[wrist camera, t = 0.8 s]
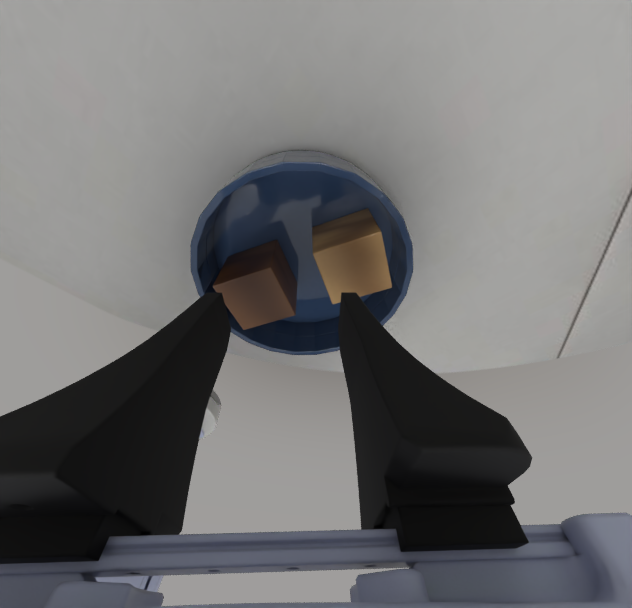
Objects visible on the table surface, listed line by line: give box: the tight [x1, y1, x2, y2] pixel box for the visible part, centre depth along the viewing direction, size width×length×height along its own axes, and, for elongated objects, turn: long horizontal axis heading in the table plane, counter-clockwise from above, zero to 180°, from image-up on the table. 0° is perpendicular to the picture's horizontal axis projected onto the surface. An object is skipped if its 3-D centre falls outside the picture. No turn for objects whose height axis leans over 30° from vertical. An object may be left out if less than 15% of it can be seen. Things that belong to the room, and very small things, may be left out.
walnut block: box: [213, 240, 297, 330], centre depth 19 cm, size 4×4×4 cm
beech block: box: [312, 208, 392, 304], centre depth 17 cm, size 4×4×4 cm
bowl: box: [191, 150, 413, 355], centre depth 18 cm, size 14×14×4 cm
